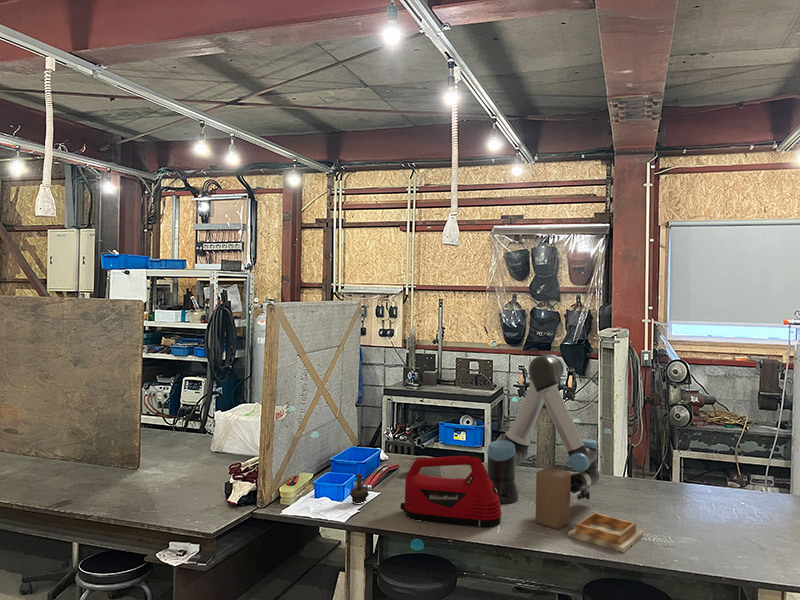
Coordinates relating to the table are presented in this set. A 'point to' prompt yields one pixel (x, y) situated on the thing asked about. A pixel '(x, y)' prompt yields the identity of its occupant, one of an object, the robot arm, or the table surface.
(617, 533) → the wooden tray
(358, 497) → the industrial component
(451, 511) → the power tool
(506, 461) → the robot arm
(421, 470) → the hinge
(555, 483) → the block
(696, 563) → the table surface
